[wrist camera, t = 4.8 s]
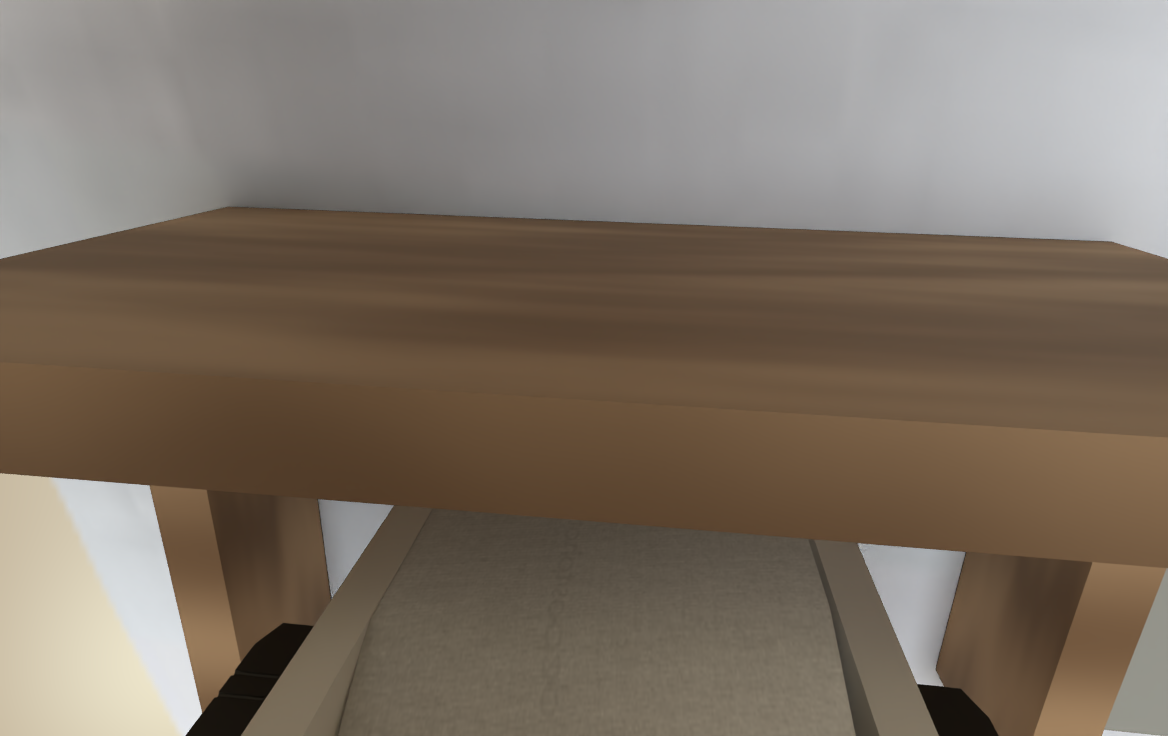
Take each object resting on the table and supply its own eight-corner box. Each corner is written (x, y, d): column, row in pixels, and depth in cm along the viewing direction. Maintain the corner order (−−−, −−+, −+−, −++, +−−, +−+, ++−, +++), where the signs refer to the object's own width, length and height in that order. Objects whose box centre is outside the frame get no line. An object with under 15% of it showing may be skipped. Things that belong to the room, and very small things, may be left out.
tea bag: (470, 439, 16) (200, 912, 7) (770, 420, 15) (937, 946, 6) (497, 570, 17) (302, 1120, 8) (775, 561, 16) (917, 1177, 7)
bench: (228, 206, 20) (-351, 339, 8) (1111, 241, 17) (1912, 486, 6) (291, 606, 25) (-19, 1021, 13) (983, 673, 22) (1300, 1240, 11)
